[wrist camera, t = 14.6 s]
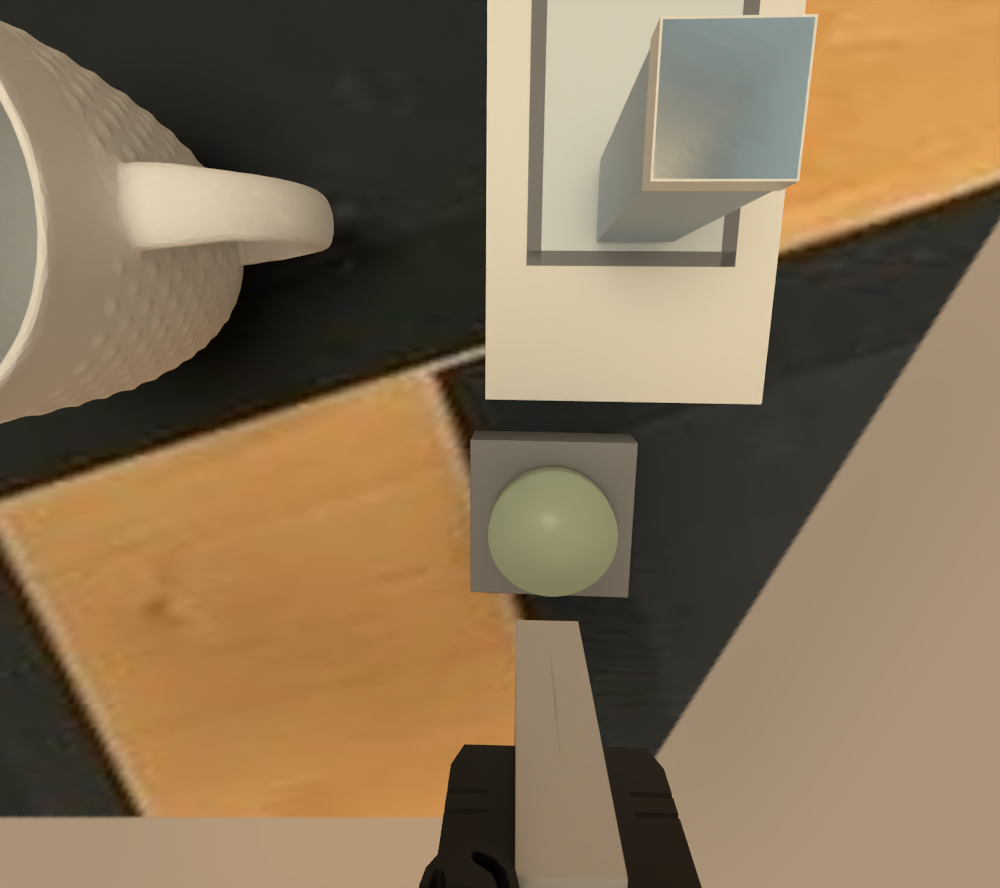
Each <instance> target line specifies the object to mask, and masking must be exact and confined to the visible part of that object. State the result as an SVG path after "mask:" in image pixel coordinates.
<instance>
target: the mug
mask: <svg viewBox="0 0 1000 888" xmlns="http://www.w3.org/2000/svg"><path fill="white" fill-rule="evenodd" d="M333 234H334V224H333V215H332V211H331V208H330V205H329V203H328V201H327V199H326V198H325V197H324V196H323V195H322V194H321V193H320V192H319V191H317V190H315V189H313V188H310V187H308V186H305V185H302V184H298V183H295V182H291V181H287V180H282V179H278V178H272V177H266V176H261V175H255V174H248V173H239V172H233V171H227V170H219V169H211V168H205V167H204V166H203V165H202V164H200V163H199V162H198V161H197V160H196V158H195V156H194V155H193V153H192V152H191V150H189V149H188V148H187V147H185V146H184V145H183V144H181V142H180V141H179V140H178V139H177V138H176V136H175V135H174V134H173V132H172V131H170V130H169V129H167V128H166V127H164V126H163V125H161V124H160V123H159V122H158V121H157V120H156V119H155V118H154V116H153V115H152V114H151V113H149V112H148V111H146V110H144V109H143V108H141V107H139V106H138V105H136V104H135V103H134V102H133V101H132V100H131V99H130V98H129V97H128V96H127V95H126V94H125V93H123V92H121V91H119V90H117V89H115V88H113V87H111V86H110V85H108V84H107V83H106V82H104V81H103V80H102V79H101V78H100V77H99V76H98V75H97V74H95V73H94V72H91V71H89V70H87V69H84V68H82V67H81V66H79V65H78V64H76V63H75V62H74V61H73V60H71V59H70V58H69V57H68V56H66V55H65V54H63V53H62V52H60V51H57V50H55V49H53V48H50V47H48V46H46V45H44V44H43V43H41V42H39V41H38V40H36V39H35V38H33V37H32V36H31V35H29V34H28V33H26V32H25V31H23V30H21V29H18V28H15V27H13V26H11V25H9V24H7V23H4V22H2V21H0V424H1V423H3V422H8V421H11V420H14V419H17V418H20V417H24V416H30V415H43V414H45V413H50V412H52V411H55V410H57V409H60V408H64V407H74V406H80V405H81V404H83V403H85V402H88V401H90V400H94V399H105V398H108V397H109V396H111V395H113V394H114V393H117V392H120V391H125V390H133V389H135V388H136V387H138V386H139V385H140V384H142V383H144V382H148V381H153V380H156V379H157V378H158V377H159V376H160V375H162V374H163V373H165V372H167V371H170V370H173V369H175V368H177V367H178V366H179V365H180V364H181V363H182V362H184V361H186V360H189V359H191V358H192V357H194V355H195V354H196V353H197V352H198V351H199V350H201V349H203V348H205V347H206V346H207V344H208V343H209V341H210V340H211V339H212V338H214V337H215V336H217V334H218V333H219V332H220V330H221V328H222V326H223V325H224V324H225V323H226V322H227V321H228V320H229V318H230V315H231V312H232V310H233V308H234V306H235V305H236V303H237V299H238V295H239V293H240V289H241V284H242V279H243V266H244V265H251V264H257V263H263V262H268V261H277V260H285V259H289V258H294V257H298V256H303V255H308V254H312V253H316V252H320V251H323V250H325V249H327V248H328V247H329V246H330V245H331V243H332V239H333Z"/></svg>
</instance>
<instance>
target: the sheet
mask: <svg viewBox="0 0 1000 888" xmlns="http://www.w3.org/2000/svg"><path fill="white" fill-rule="evenodd" d="M805 7H806V0H487V191H486V383H485V399H495V400H550V401H605V402H659V403H714V404H762V396H763V387H764V378H765V369H766V360H767V351H768V342H769V333H770V323H771V314H772V305H773V296H774V287H775V278H776V269H777V260H778V251H779V242H780V233H781V224H782V215H783V206H784V197H785V189H783V190H781V191H772V192H770V193H768V194H766V195H764V196H762V197H760V198H758V199H756V200H754V201H752V202H750V203H748V204H746V205H744V206H743V207H741V208H739V209H737V210H735V211H733V212H731V213H729V214H727V215H725V216H723V217H721V218H719V219H717V220H715V221H713V222H711V223H709V224H707V225H705V226H703V227H701V228H699V229H697V230H695V231H693V232H691V233H689V234H688V235H686V236H684V237H682V238H680V239H678V240H676V241H674V242H597V221H598V198H599V176H600V159H601V157H602V155H603V153H604V150H605V148H606V146H607V144H608V141H609V139H610V137H611V135H612V132H613V130H614V128H615V126H616V123H617V121H618V119H619V117H620V114H621V112H622V110H623V108H624V105H625V103H626V101H627V99H628V96H629V94H630V92H631V90H632V87H633V85H634V83H635V81H636V78H637V76H638V74H639V72H640V69H641V67H642V65H643V63H644V60H645V58H646V56H647V54H648V51H649V49H650V42H651V37H652V35H653V33H654V30H655V28H656V26H657V23H658V21H659V19H660V17H661V16H717V15H785V14H805Z"/></svg>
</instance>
